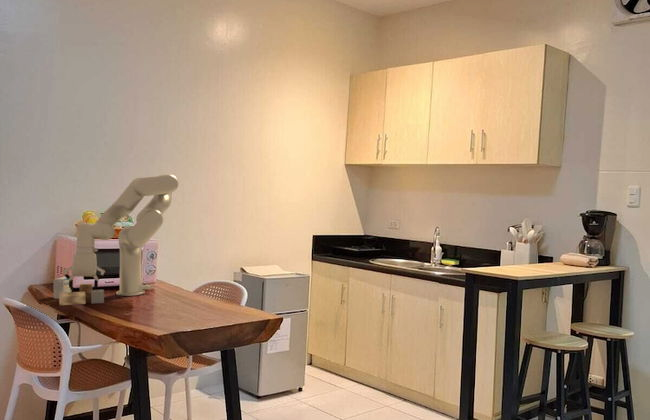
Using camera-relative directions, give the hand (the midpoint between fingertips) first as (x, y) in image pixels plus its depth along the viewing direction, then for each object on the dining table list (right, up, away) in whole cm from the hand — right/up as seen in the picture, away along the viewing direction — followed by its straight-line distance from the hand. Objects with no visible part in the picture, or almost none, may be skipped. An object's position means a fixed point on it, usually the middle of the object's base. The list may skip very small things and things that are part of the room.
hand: (83, 289), depth 258 cm
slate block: (+10, -4, -9) cm, 14 cm away
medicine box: (-10, -4, +2) cm, 11 cm away
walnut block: (+1, -4, +1) cm, 4 cm away
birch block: (0, -5, -10) cm, 11 cm away
